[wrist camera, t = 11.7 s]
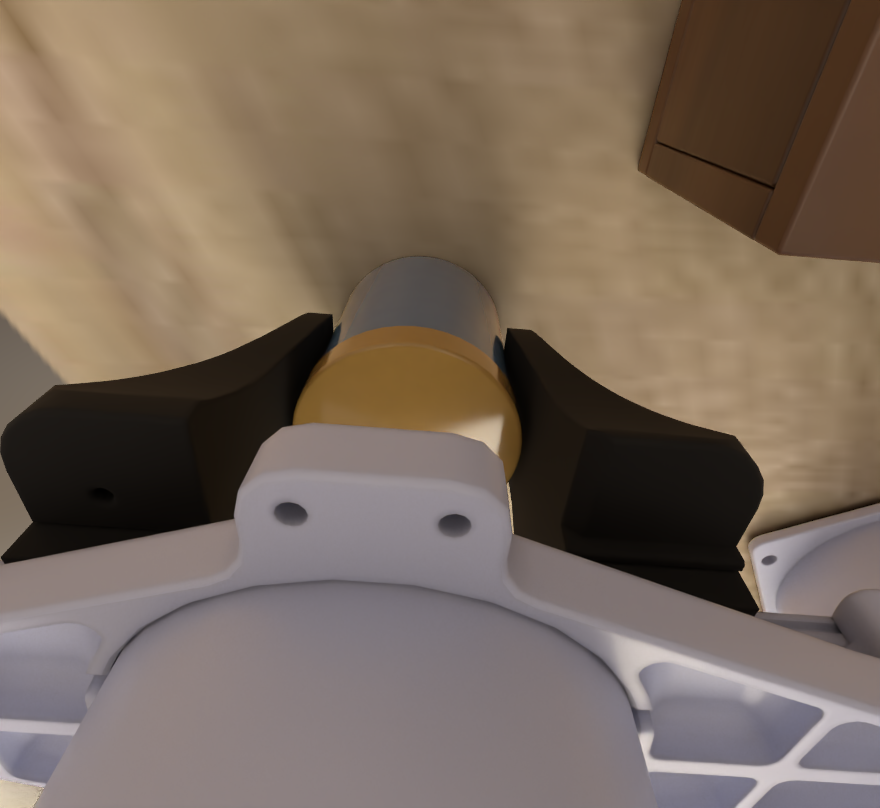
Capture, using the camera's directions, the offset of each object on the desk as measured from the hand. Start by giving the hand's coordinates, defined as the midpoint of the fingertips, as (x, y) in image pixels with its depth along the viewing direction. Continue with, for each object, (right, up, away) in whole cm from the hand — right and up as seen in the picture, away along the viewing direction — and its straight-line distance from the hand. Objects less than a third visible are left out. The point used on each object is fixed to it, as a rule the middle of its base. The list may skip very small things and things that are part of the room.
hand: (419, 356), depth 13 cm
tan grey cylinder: (0, +1, +1) cm, 1 cm away
